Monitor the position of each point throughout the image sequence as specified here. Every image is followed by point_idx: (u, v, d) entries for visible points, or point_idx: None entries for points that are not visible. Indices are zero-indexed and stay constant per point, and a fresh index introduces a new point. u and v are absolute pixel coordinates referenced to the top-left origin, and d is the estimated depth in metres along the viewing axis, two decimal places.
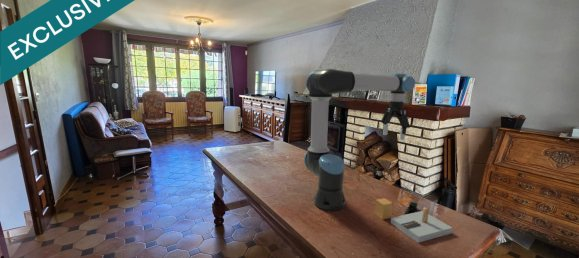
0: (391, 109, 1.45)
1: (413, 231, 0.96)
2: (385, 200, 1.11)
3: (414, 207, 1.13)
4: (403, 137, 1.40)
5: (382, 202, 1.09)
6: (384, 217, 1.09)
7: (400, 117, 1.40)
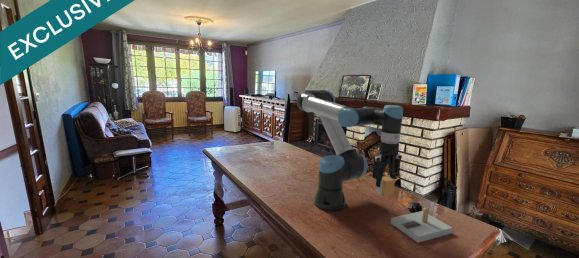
0: None
1: (413, 231, 0.96)
2: (387, 177, 1.09)
3: (420, 207, 1.13)
4: (379, 190, 1.08)
5: (384, 179, 1.07)
6: (386, 194, 1.07)
7: (381, 164, 1.07)
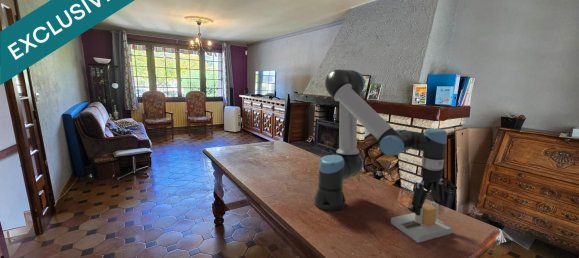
0: None
1: (413, 231, 0.96)
2: (428, 205, 1.02)
3: None
4: (418, 219, 1.01)
5: (426, 208, 1.00)
6: (428, 224, 1.00)
7: (422, 191, 1.00)
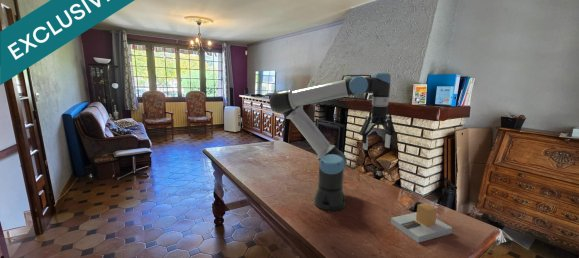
0: None
1: (413, 231, 0.96)
2: (428, 205, 1.02)
3: None
4: (365, 146, 1.21)
5: (426, 208, 1.00)
6: (428, 224, 1.00)
7: (370, 124, 1.20)
